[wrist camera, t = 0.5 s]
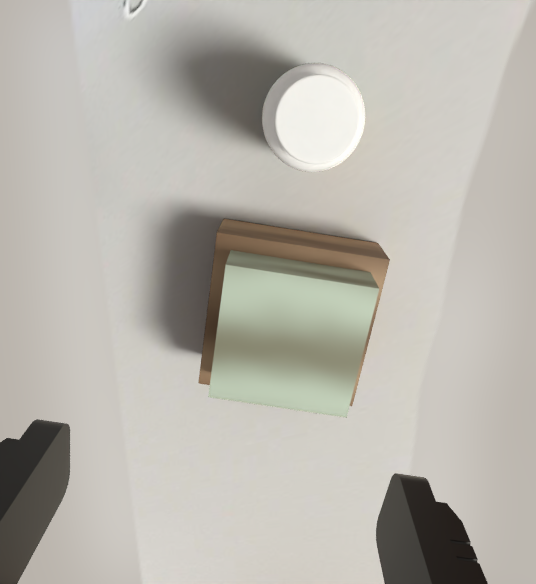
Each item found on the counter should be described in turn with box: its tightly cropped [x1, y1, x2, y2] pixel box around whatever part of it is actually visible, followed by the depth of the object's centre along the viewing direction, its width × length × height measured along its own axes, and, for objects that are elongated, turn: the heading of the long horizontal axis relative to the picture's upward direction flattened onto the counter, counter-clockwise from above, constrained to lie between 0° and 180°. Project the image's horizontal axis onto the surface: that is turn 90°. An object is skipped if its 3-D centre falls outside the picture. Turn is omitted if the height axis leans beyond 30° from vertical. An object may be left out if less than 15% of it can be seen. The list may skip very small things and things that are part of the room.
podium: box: [199, 219, 390, 418], centre depth 33 cm, size 11×11×7 cm
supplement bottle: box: [262, 63, 365, 172], centre depth 27 cm, size 5×5×10 cm
